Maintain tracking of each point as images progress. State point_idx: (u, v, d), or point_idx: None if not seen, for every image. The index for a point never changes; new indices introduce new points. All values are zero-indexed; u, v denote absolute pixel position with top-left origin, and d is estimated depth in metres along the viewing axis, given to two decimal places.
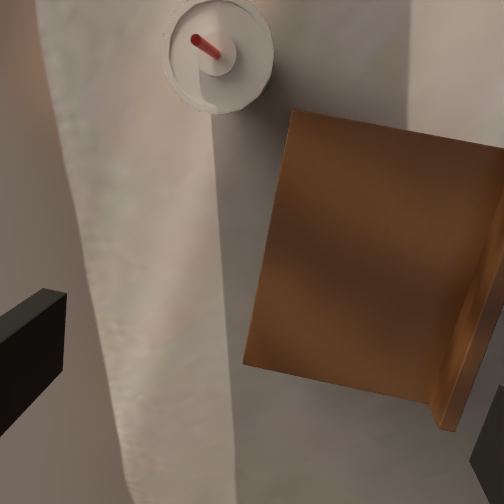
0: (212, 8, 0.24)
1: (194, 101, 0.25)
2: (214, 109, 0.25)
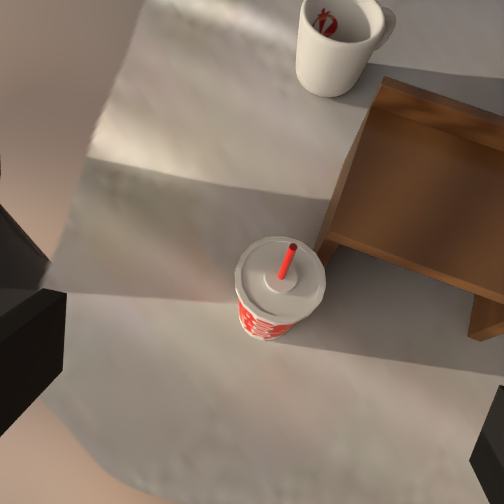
0: (246, 274, 0.30)
1: (313, 303, 0.29)
2: (321, 288, 0.30)
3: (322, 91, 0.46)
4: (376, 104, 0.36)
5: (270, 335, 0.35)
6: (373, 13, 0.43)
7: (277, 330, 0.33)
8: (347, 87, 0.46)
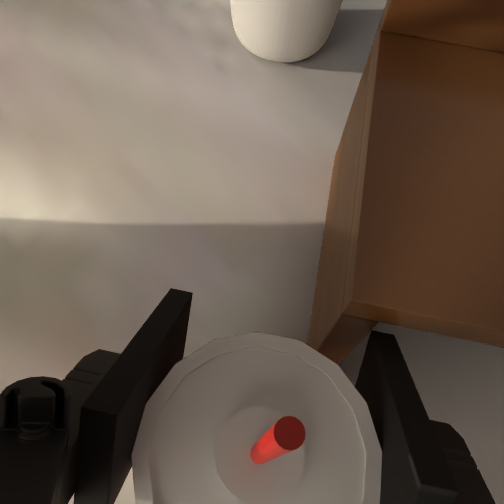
0: (166, 460, 0.11)
1: None
2: (371, 465, 0.11)
3: (280, 52, 0.29)
4: (390, 24, 0.18)
5: None
6: None
7: None
8: (319, 40, 0.29)
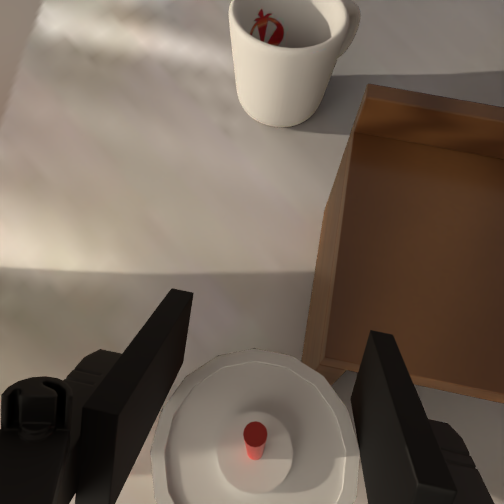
0: (178, 456, 0.13)
1: None
2: (350, 462, 0.13)
3: (278, 120, 0.34)
4: (361, 128, 0.23)
5: None
6: (329, 5, 0.31)
7: None
8: (311, 110, 0.34)
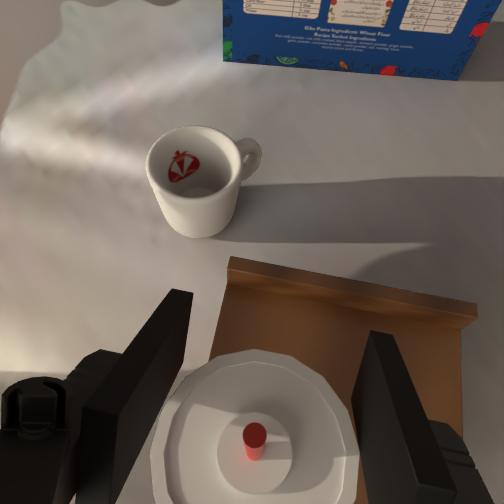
0: (177, 457, 0.13)
1: None
2: (350, 463, 0.13)
3: (195, 236, 0.41)
4: (231, 282, 0.31)
5: None
6: (230, 151, 0.38)
7: None
8: (221, 227, 0.41)
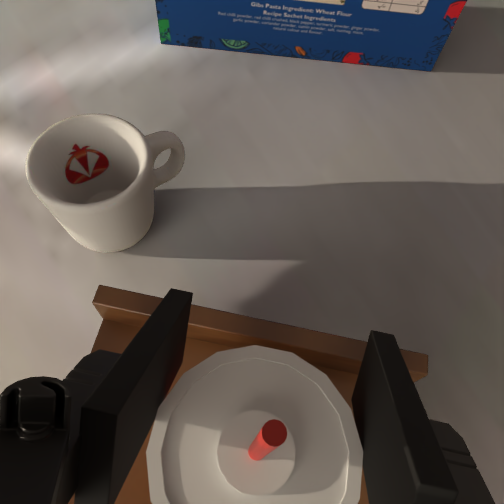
0: (175, 456, 0.13)
1: None
2: (354, 463, 0.13)
3: (100, 250, 0.33)
4: (107, 318, 0.23)
5: None
6: (137, 147, 0.31)
7: None
8: (133, 239, 0.34)
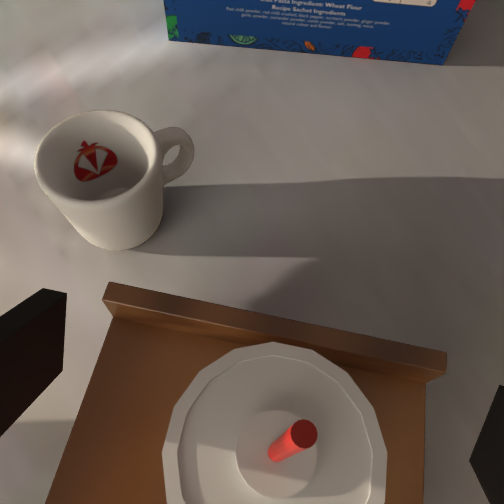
0: (192, 457, 0.12)
1: None
2: (378, 464, 0.12)
3: (109, 247, 0.33)
4: (117, 315, 0.23)
5: None
6: (146, 143, 0.30)
7: None
8: (142, 236, 0.33)
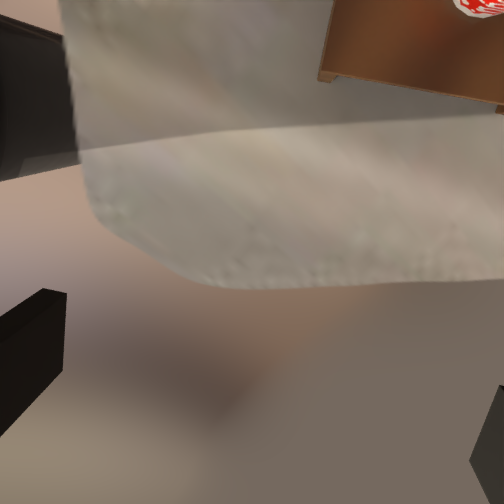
0: None
1: None
2: None
3: None
4: None
5: None
6: None
7: None
8: None
